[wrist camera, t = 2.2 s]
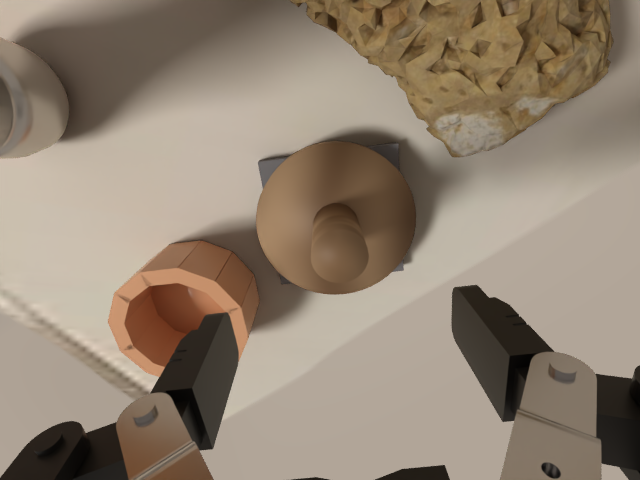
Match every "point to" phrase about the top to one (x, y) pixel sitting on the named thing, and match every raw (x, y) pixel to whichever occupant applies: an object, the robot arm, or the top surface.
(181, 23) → the top surface
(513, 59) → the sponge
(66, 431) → the robot arm
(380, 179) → the lid
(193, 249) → the bowl
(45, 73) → the plastic bottle
